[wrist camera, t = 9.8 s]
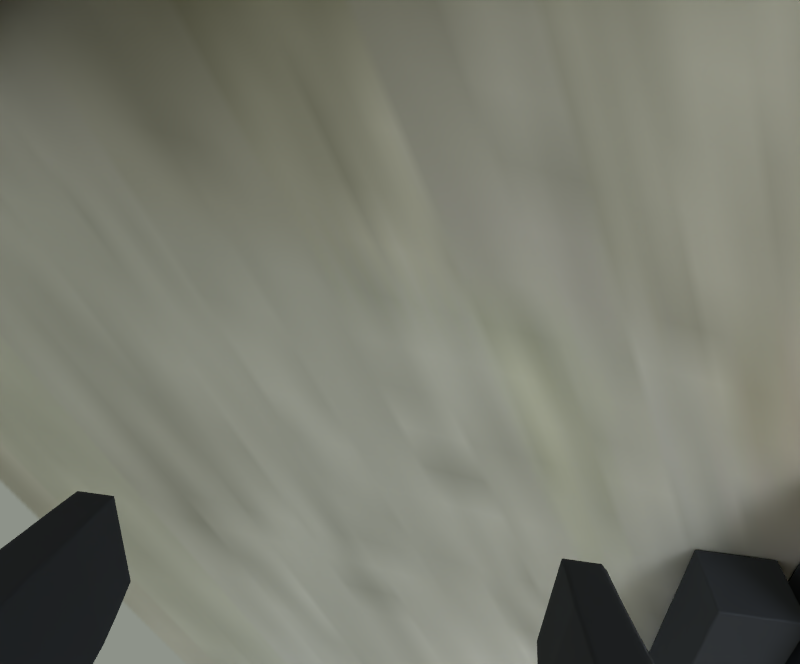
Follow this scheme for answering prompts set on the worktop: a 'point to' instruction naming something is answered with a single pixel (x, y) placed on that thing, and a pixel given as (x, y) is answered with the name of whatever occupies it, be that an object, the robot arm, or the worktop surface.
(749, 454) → the worktop surface
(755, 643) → the notch pad
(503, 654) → the worktop surface
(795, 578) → the pad
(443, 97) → the worktop surface
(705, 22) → the worktop surface
